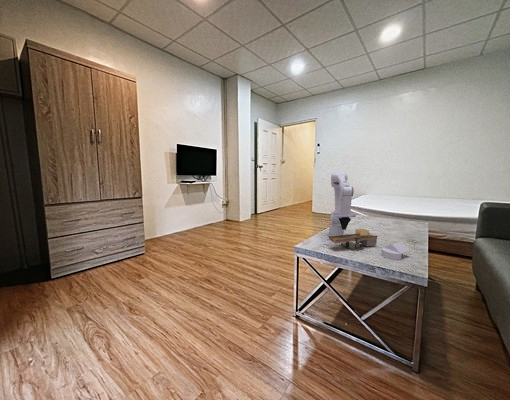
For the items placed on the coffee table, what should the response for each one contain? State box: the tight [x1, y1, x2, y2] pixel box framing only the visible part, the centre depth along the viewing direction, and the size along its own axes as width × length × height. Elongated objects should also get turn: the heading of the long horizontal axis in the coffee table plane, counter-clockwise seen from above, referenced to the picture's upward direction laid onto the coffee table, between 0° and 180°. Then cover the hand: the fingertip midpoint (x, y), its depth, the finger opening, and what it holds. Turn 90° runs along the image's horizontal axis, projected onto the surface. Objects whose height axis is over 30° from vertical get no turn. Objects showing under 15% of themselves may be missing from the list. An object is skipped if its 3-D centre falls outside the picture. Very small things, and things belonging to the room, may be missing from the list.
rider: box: [354, 228, 370, 237], centre depth 126 cm, size 4×6×4 cm, turn 106°
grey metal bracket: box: [340, 234, 365, 252], centre depth 125 cm, size 10×8×6 cm
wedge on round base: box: [380, 241, 410, 261], centre depth 113 cm, size 9×7×13 cm
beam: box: [328, 232, 378, 247], centre depth 125 cm, size 6×29×6 cm, turn 106°
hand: (343, 229), depth 125 cm, fingers closed
